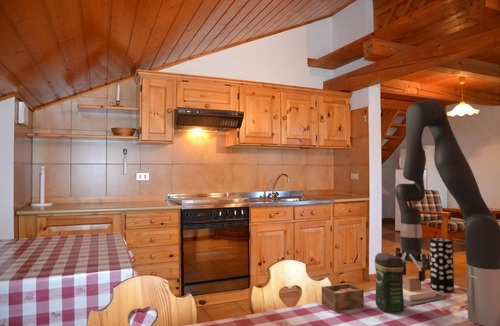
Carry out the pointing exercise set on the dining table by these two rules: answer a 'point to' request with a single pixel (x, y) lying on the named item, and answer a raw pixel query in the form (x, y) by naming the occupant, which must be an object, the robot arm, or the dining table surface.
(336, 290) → the tea box
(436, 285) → the spotted tube
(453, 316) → the dining table surface
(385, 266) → the coffee jar
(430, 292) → the lid
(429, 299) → the mat
